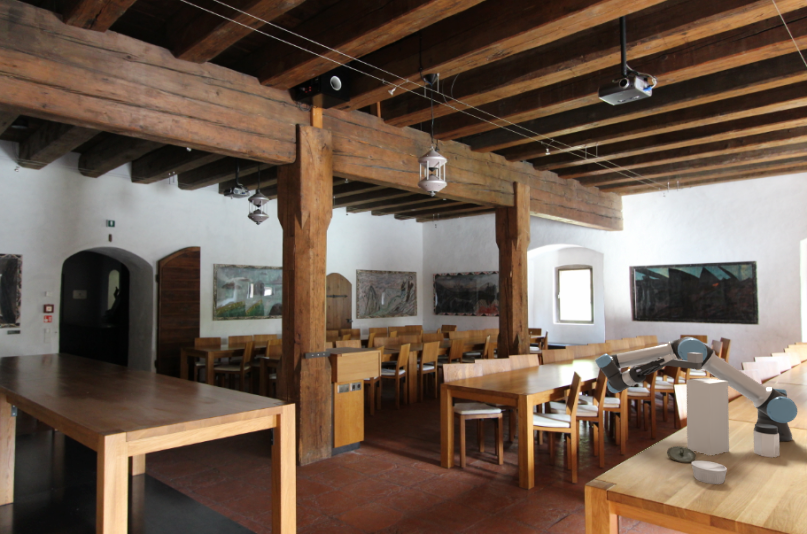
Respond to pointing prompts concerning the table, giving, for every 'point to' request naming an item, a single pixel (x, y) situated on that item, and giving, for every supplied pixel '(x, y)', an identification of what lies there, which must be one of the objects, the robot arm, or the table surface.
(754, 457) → the table surface
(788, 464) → the table surface
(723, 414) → the stand
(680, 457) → the lid
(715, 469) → the ramekin
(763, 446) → the jar
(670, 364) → the handle bar
